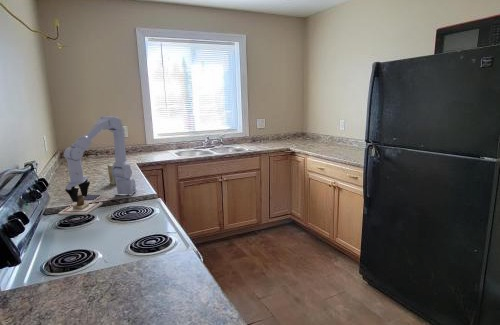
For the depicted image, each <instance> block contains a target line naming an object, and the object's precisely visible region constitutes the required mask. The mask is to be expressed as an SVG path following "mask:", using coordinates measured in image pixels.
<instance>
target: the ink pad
mask: <svg viewBox="0 0 500 325" xmlns="http://www.w3.org/2000/svg"><path fill="white" fill-rule="evenodd" d="M99 196H102V195H101V194H87V196H86V197H83V198H84V200H94V199H96V198H97V197H99ZM102 197H103V196H102Z"/></svg>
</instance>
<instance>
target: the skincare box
mask: <svg viewBox="0 0 500 325" xmlns="http://www.w3.org/2000/svg"><path fill="white" fill-rule="evenodd" d="M113 164H114V163H111V164H108V165H107V169H108V170H107V172H108V177H109V183H110V184H111V185H116V179H115V177H114V176H113V174H112V169H113Z"/></svg>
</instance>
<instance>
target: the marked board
mask: <svg viewBox="0 0 500 325" xmlns="http://www.w3.org/2000/svg"><path fill="white" fill-rule="evenodd" d="M98 202H99V203H92V204H89V206H88V207H86V208H84V209H73V206H74V205H73V204H72V205H73V206H71V205H69V206H70V207H69V206H68V207H66V208H64V209H63V210H61V211H59V212H58V213H57V214H58V215H65V216H67V215H68V216H69V215H73V216H74V215H76V216H77V215H83V216H85V215H89V214H91V213H92V212H94V211H95V210H96V209H97V208H99V207H101V206H102V205H103V202H102V201H101V202H100V201H98Z"/></svg>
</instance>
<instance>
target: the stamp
mask: <svg viewBox="0 0 500 325" xmlns="http://www.w3.org/2000/svg"><path fill="white" fill-rule="evenodd" d="M88 206H89V203H84V198H83V195H82V194H78V202H77V204H76V205H74V206H73V209H84V208H86V207H88Z"/></svg>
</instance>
